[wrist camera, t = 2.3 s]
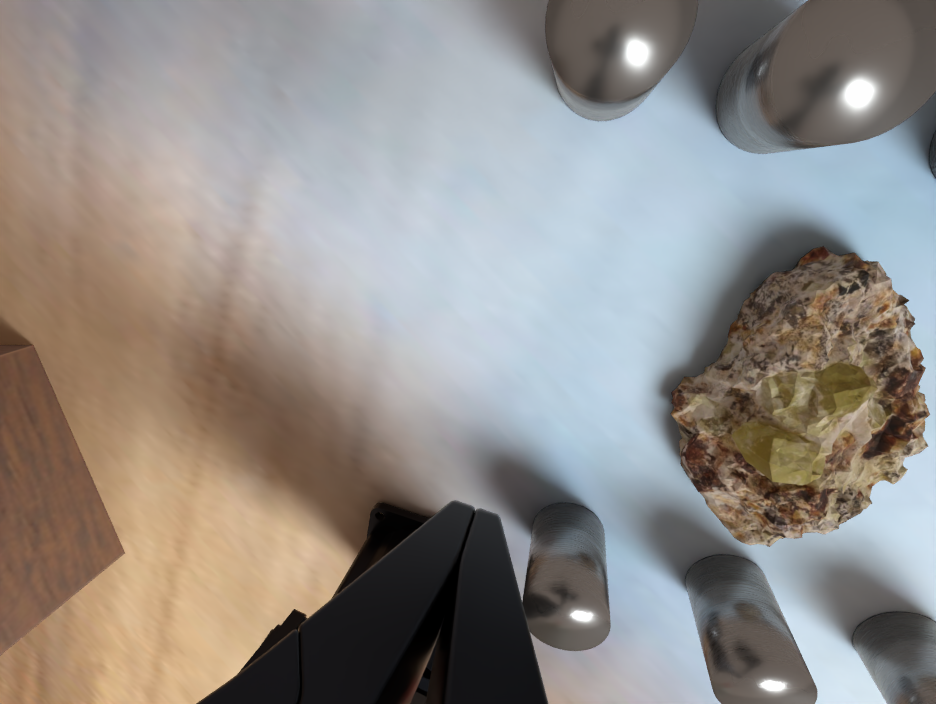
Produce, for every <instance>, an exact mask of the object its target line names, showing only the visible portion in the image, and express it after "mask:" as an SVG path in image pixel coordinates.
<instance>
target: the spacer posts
mask: <svg viewBox="0 0 936 704" xmlns="http://www.w3.org/2000/svg"><path fill="white" fill-rule="evenodd" d="M697 9H698V0H549V2H548V6H547V12H546V21H545V33H546V42H547V48H548V52H549V56H550V60H551V63H552V67H553V71H554V75H555V79H556V82H557V86H558V89H559V92H560V94H561V97H562V98H563V100H564V102H565V103H566V104H567V106H568V107H569V108H570V109H571V110H572V111H573V112H575V113H576V114H578V115H579V116H581V117H583V118H586V119H589V120H593V121H609V120H614V119H617V118H620V117H622V116H624V115H626V114H628V113H630V112H631V111H633V110H634V109H635V108H637V107H638V106H639V105H640V104H641V103H642V102H643V101H644V100H645V99H646V98H647V96H648V95H649V94H650V93H651V92H652V90H653V89H654V88H655V87H656V85H657V84H658V83H659V82H660V81H661V79H662V78H663V77H664V76H665V74H666V73H667V72H668V71H669V70H670V68H671V67H672V66H673V65H674V63H675V62H676V61H677V59H678V58H679V56H680V55H681V53H682V52H683V50H684V48H685V46H686V44H687V43H688V41H689V38H690V36H691V33H692V31H693V27H694V24H695V20H696V16H697ZM935 91H936V0H808V1H807V2H806V3H804V4H803V5H802V6H800V7H799V8H798V9H797V10H795V11H794V12H793V13H791V14H790V15H789V16H788V17H786V18H785V19H784V20H782V21H781V22H780V23H779V24H777V25H776V26H775V27H773V28H772V29H771V30H770V31H768V32H767V33H766V34H764V35H763V36H762V37H761V38H759V39H758V40H757V41H755V42H754V43H753V44H752V45H750V46H749V47H748V48H746V49H745V50H744V51H743V52H742V53H741V54H740V55H739V56H738V57H737V58H736V59H735V60H734V62H733V63H732V64H731V66H730V67H729V68H728V70H727V72H726V74H725V75H724V77H723V79H722V82H721V84H720V87H719V90H718V94H717V100H716V115H717V120H718V124H719V126H720V129H721V131H722V132H723V134H724V136H725V137H726V138H727V139H728V140H729V141H730V142H731V143H732V144H733V145H735V146H736V147H738V148H739V149H742V150H744V151H747V152H751V153H757V154H768V153H776V152H784V151H792V150H800V149H808V148H816V147H824V146H832V145H840V144H848V143H855V142H859V141H863V140H867V139H870V138H873V137H876V136H878V135H880V134H883V133H885V132H887V131H889V130H891V129H892V128H894V127H896V126H897V125H899V124H901V123H902V122H904V121H905V120H906V119H908V118H909V117H910V116H912V115H913V114H914V113H915V112H916V111H917V110H919V109H920V108H921V107H922V106H923V105H924V104H925V103H926V102H927V101H928V99H929V98H930V97H931V96H932V95H933V94H934V92H935ZM930 164H931V168H932V171H933V173H934V175H935V177H936V131H935V133H934V136H933V139H932V142H931V147H930ZM686 587H687V591H688V595H689V599H690V603H691V607H692V611H693V614H694V618H695V622H696V626H697V630H698V634H699V638H700V642H701V646H702V650H703V653H704V657H705V661H706V665H707V669H708V673H709V677H710V681H711V685H712V689H713V692H714V694H715V696H716V698H717V699H718V701H719V702H720V703H721V704H815V702H816V700H817V688H816V685H815V683H814V681H813V679H812V677H811V675H810V672H809V670H808V668H807V666H806V664H805V662H804V659H803V657H802V655H801V653H800V651H799V648H798V646H797V644H796V642H795V640H794V638H793V635H792V633H791V631H790V629H789V627H788V625H787V622H786V620H785V618H784V616H783V614H782V612H781V609H780V607H779V605H778V603H777V601H776V599H775V596H774V594H773V592H772V590H771V588H770V586H769V583H768V581H767V579H766V577H765V575H764V573H763V572H762V570H761V569H760V568H759V567H758V566H757V565H755V564H754V563H752V562H751V561H749V560H747V559H744V558H741V557H737V556H732V555H715V556H710V557H707V558H704V559H702V560H700V561H698V562H697V563H695V564H694V565H693V566H692V567H691V568H690V569H689V571H688V573H687V576H686ZM522 604H523V608H524V612H525V616H526V619H527V623H528V627H529V631H530V632H531V633H532V634H533V635H534V636H535V637H536V638H537V639H539V640H540V641H542V642H543V643H545V644H547V645H550V646H552V647H555V648H558V649H562V650H568V651H582V650H587V649H591V648H593V647H596V646H598V645H599V644H601V643H602V642H603V641H604V640H605V639H606V638H607V636H608V634H609V631H610V610H609V594H608V579H607V563H606V548H605V533H604V528H603V525H602V523H601V521H600V520H599V519H598V517H597V516H596V515H595V514H594V513H592V512H591V511H589V510H588V509H586V508H584V507H582V506H579V505H576V504H571V503H558V504H553V505H550V506H548V507H546V508H544V509H543V510H541V511H540V512H539V513H538V514H537V516H536V518H535V520H534V523H533V530H532V537H531V544H530V552H529V559H528V566H527V573H526V581H525V588H524V595H523V602H522ZM853 645H854V647H855V649H856V651H857V653H858V654H859V656H860V658H861V660H862V661H863V663H864V665H865V667H866V668H867V670H868V672H869V673H870V675H871V677H872V679H873V680H874V682H875V684H876V685H877V687H878V689H879V691H880V692H881V694H882V696H883V698H884V699H885V701H886V703H887V704H936V622H934V621H933V620H931V619H929V618H927V617H924V616H922V615H918V614H914V613H907V612H891V613H884V614H880V615H877V616H874V617H872V618H869V619H867V620H866V621H864V622H863V623H862V624H860V625H859V626H858V627H857V629H856V630H855V632H854V635H853Z"/></svg>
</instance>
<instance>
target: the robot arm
mask: <svg viewBox="0 0 936 704" xmlns="http://www.w3.org/2000/svg"><path fill="white" fill-rule="evenodd" d="M380 512H381V513H383V514H384V515H382V514H380ZM197 704H548V700H547V697H546V693H545V689H544V685H543V681H542V677H541V673H540V670H539V666H538V662H537V658H536V654H535V650H534V646H533V643H532V639H531V635H530V631H529V627H528V623H527V619H526V616H525V612H524V608H523V604H522V600H521V596H520V592H519V588H518V585H517V581H516V577H515V573H514V569H513V565H512V561H511V558H510V554H509V550H508V546H507V542H506V538H505V534H504V531H503V527H502V523H501V519H500V517H499V515H497V514H495V513H492V512H489V511H486V510H483V509H477V510H476V511H475V508H474V507H473V506H471V505H468V504H465V503H462V502H459V501H456V500H454V501H451V502H450V503H449V504H447V505H446V506H445V507H444V508H442V509H441V510H440V511H439V512H438V513H436V514H435V515H434V516H433V517H431V518H430V519H429V518H426V517H423V516H420V515H417V514H414V513H412V512H409V511H406V510H403V509H400V508H397V507H394V506H391V505H388V504H385V503H377V504H376V505H375V506H374V508H373V509H372V511H371V514H370V521H369V528H368V534H367V540H366V542H365V543H364V545H363V547H362V548H361V550H360V552H359V553H358V555H357V557H356V558H355V560H354V562H353V563H352V565H351V567H350V569H349V570H348V572H347V574H346V575H345V577H344V579H343V580H342V582H341V584H340V585H339V587H338V589H337V591H336V592H335V594H334V596H333V597H332V599H331V600H330V601H329V602H327V603H326V604H325V605H324V606H323V607H321V608H320V609H319V610H318V611H316V612H315V613H314V614H313V615H312V616H310V617H309V618H306V614H304V613H302V612H300V611H298V610H296V609H294V610H293V611H292V612H291V614H290V615H289V616H288V617H287V619H286V620H285V621H284V622H283V624H282V625H279V624H278V625H277V626H276V627H275V629H273V630H271V631H270V633H269V634H268V636H267V637H266V639H265V640H264V642H263V643H262V644H261V646H260V647H259V648H258V650H257V651H256V652H255V653H254V654H253V656H252V657H251V658H250V659H249V661H248V662H247V663H246V664H245V666H244V667H243V668H242V669H241V671H240V672H239V673H238V674H237V675H236V676H235V677H233V678H232V679H231V680H229V681H228V682H227V683H225V684H224V685H222V686H221V687H219V688H218V689H217V690H215V691H214V692H212V693H211V694H209V695H208V696H207V697H205V698H204V699H202V700H201V701H199V702H198V703H197Z"/></svg>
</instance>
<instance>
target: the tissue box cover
mask: <svg viewBox="0 0 936 704" xmlns="http://www.w3.org/2000/svg"><path fill="white" fill-rule="evenodd" d="M124 553H125V552H124V550H123V547H122V545H121V543H120V541H119V538H118V536H117V534H116V532H115V529H114V527H113V525H112V522H111V520H110V518H109V516H108V513H107V511H106V509H105V507H104V504H103V502H102V500H101V498H100V495H99V493H98V491H97V488H96V486H95V484H94V482H93V479H92V477H91V475H90V473H89V470H88V468H87V466H86V463H85V461H84V459H83V457H82V454H81V452H80V450H79V448H78V445H77V443H76V441H75V439H74V436H73V434H72V432H71V429H70V427H69V425H68V423H67V420H66V418H65V416H64V414H63V411H62V409H61V407H60V404H59V402H58V400H57V398H56V395H55V393H54V391H53V389H52V386H51V384H50V382H49V379H48V377H47V375H46V373H45V370H44V368H43V366H42V364H41V361H40V359H39V357H38V355H37V352H36V350H35V348H34V345H0V655H2V654H3V653H4V652H5V651H6V650H8V649H9V648H10V647H11V646H13V645H14V644H15V643H16V642H17V641H19V640H20V639H21V638H22V637H24V636H25V635H26V634H27V633H28V632H30V631H31V630H32V629H33V628H34V627H36V626H37V625H38V624H39V623H41V622H42V621H43V620H44V619H45V618H47V617H48V616H49V615H50V614H51V613H53V612H54V611H55V610H56V609H58V608H59V607H60V606H61V605H62V604H64V603H65V602H66V601H67V600H68V599H70V598H71V597H72V596H73V595H75V594H76V593H77V592H78V591H79V590H81V589H82V588H83V587H84V586H86V585H87V584H88V583H89V582H90V581H92V580H93V579H94V578H95V577H96V576H98V575H99V574H100V573H101V572H103V571H104V570H105V569H106V568H107V567H109V566H110V565H111V564H112V563H113V562H115V561H116V560H117V559H118V558H120V557H121V556H122V555H123V554H124Z"/></svg>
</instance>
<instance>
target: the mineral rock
mask: <svg viewBox="0 0 936 704" xmlns="http://www.w3.org/2000/svg"><path fill="white" fill-rule="evenodd" d="M908 301H909V300H908V299H906V298H905V297H903V296H902V295H898V294H897V293H896V292H895V291H894V290H893V289H892V282H891V278H889V277H888V276H886V273H885V271H884V270H883V268H882V267H881V265H880V264H879V262H869V261H862V260H861V259H860V258H859V257H858V256H857V255H856V253H850V254H845V255H840V256H838V255H835V254H833V253H832V252H831V251H829V250H828V249H827V248H825V247H824V246H823V247H819V248H815V249H813V250H811V251H810V252H809V253H807V254H806V255H805V256H803V257H802V258H801V259H800V261H799V262H798V264H797V265H796V267H795V268H794V269H793V270H792V271H785V272H775V273H773V274H771V275H770V276H769V277H768V278H767V279H766V280H764V282H763V283H762V284H761V285H760V286H759V287H758V288H757V289H756V290H755V291H754V292H752V293H751V294H750V297H749V298H748V299H746V300H745V301H744V303H743V305H742V308H741V310H740V313H739V314H738V318H737V320H736V321H734V322H733V323H732V324H731V326H730V330H729V334H728V342H727V344H726V346H725V347H724V349H723V350H722V352H721V354H720V356H719V358H718V360H717V361H716V363H712V364H711V365H710V366H708V367H705V370H704V373H703V374H700V375H699V376H697V377H684V378H683V380H682V381H681V383H680V385H679V386H678V387H677V388H676V389H675V390H674V391H673V392H671V393H672V396H673V399H672V402H671V403H672V404H673V406H674V409H673V411H672V412H671V415H672V416H673V418H674V419H675V420H676V421H677V423H678V427H679V432H680V434H681V436H682V438H681V440H680V441H679V448H680V453H679V454H680V457H681V466H682V467H683V469H684V471H685V472H686V474H687V476H688V477H689V479H690V480H691V482H692V483H693V484H694V486H695V487H696V489H697V490H698V492H700V493H701V494H702V496H703V497H704V498H705V501H706V503H707V505H708V507H709V508H710V509H711V511H712V512H713V513H714V514H715V515H716V516H717V517H718V518H719V520H720V521H721V522H722V524H723V525H724V526H725V527H726V528H727V529H728V530H729V531H730V533H731V534H732V535H733V537H734V538H736V539H737V540H739V541H740V542H742V543H745V544H748V545H754V544H763V545H767V546H769V547H770V546H771V545H772V544H773V543H775V542H776V541H777V540H778V539H780V538H782V539H783V538H794V539H795V538H801V537H802V534H803V533H811V532H818V533H821V534H826V533H828V532H830V531H832V530H835V529H839V524H841V523H844V522H846V521H847V520H849V519H851V518H852V517H854V516H856V515H858V514H860V513H861V512H862V511H863V509H866V508H867V507H868V506H869V505H870V504H872V502H871V500H870V498H869V497H870V493H871V489H872V486H873V485H875V484H876V483H877V482H879V481H881V480H886V481H888V482H890V483H892V484H895V483H896V482H897V481H899V480H900V479H901V478H902V477H903V476H904V474H905V473H906V471H907V470H908V469H906V468H905V467H903V461H904V458H905V457H909V456H913V455H915V454H918V453H920V452H922V451H923V450H924V449H925V448H927V447H928V445H927V443H926V441H925V440H924V438H923V434H922V433H923V432H924V431H925V420H924V419H925V418H927V417H928V416H929V415H930V413H929V411H928V408H927V405H926V404H925V403H924V402H925V395H924V394H922V393H920V392H918V391H919V388H920V386H919V385H918V384H919V381H920V379H921V377H922V375H923V373H924V371H925V367H924V366H923V365H921V364H920V363H921V362H922V361H923V359H924V358H923V356H922V353H921V350H920V349H918V348H917V347H916V345H915V344H914V342H913V340H912V339H911V334H910V330H911V327H912V326H913V325H914V324H915V323H914V321H915V318H914V317H913V316H912V315H911V313H910V312H909V310H908V308H907V307H906V306H905V305H904V304H905V303H907V302H908Z"/></svg>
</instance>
